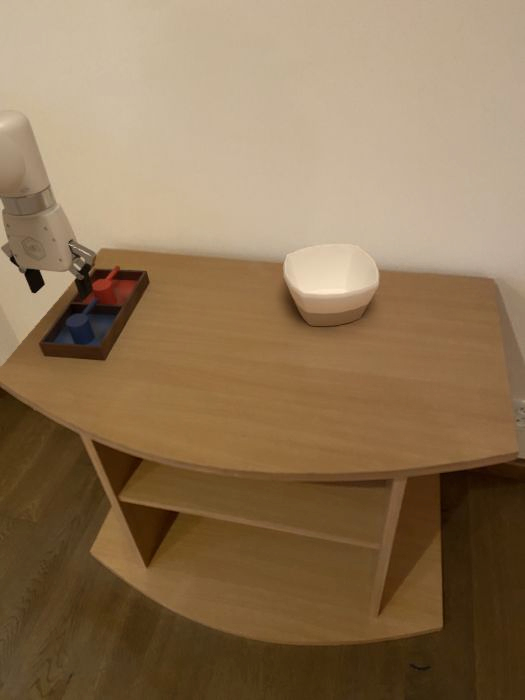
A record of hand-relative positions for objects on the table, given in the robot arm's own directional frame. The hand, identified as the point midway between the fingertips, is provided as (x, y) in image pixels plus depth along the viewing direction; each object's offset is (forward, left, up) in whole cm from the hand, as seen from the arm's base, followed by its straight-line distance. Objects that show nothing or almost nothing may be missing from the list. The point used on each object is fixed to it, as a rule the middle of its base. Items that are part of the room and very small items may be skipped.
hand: (62, 291), depth 89 cm
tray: (+6, +6, -12) cm, 15 cm away
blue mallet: (+2, +2, -11) cm, 12 cm away
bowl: (+45, -18, -12) cm, 50 cm away
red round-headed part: (+10, +11, -11) cm, 19 cm away
